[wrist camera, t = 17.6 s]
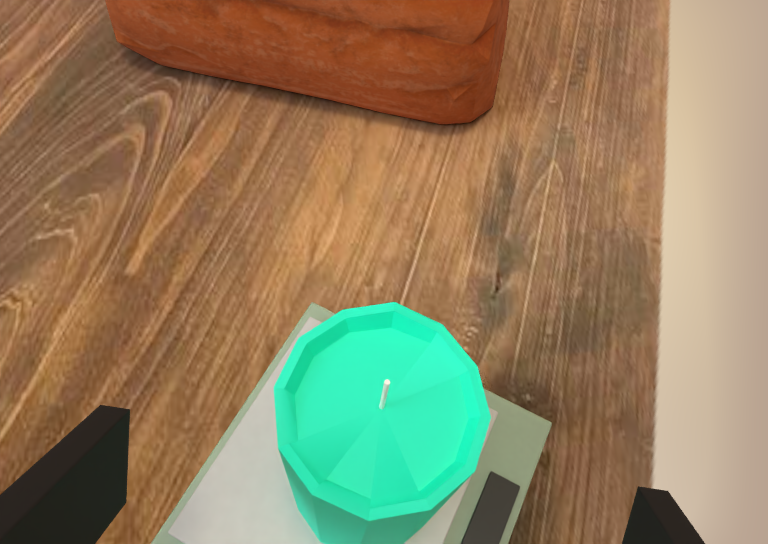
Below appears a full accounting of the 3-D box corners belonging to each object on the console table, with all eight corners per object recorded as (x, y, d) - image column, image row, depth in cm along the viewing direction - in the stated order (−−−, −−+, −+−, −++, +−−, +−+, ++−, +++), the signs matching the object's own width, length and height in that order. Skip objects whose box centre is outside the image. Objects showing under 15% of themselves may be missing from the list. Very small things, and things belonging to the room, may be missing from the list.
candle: (308, 402, 27) (291, 264, 16) (440, 420, 27) (506, 293, 16) (281, 547, 24) (238, 491, 13) (430, 567, 24) (505, 527, 13)
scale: (537, 436, 30) (557, 418, 27) (428, 726, 23) (440, 739, 21) (313, 321, 32) (311, 295, 29) (159, 557, 26) (140, 550, 23)
